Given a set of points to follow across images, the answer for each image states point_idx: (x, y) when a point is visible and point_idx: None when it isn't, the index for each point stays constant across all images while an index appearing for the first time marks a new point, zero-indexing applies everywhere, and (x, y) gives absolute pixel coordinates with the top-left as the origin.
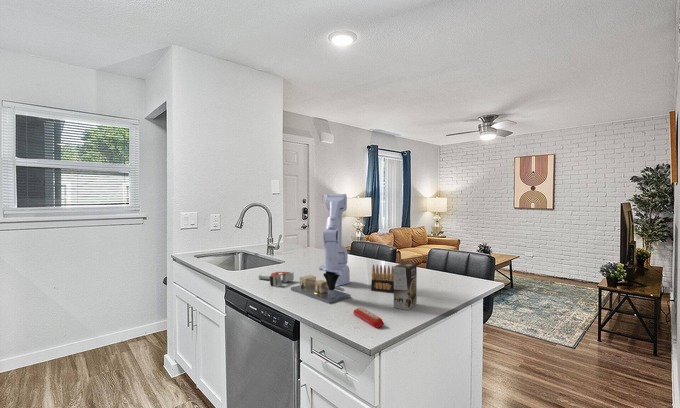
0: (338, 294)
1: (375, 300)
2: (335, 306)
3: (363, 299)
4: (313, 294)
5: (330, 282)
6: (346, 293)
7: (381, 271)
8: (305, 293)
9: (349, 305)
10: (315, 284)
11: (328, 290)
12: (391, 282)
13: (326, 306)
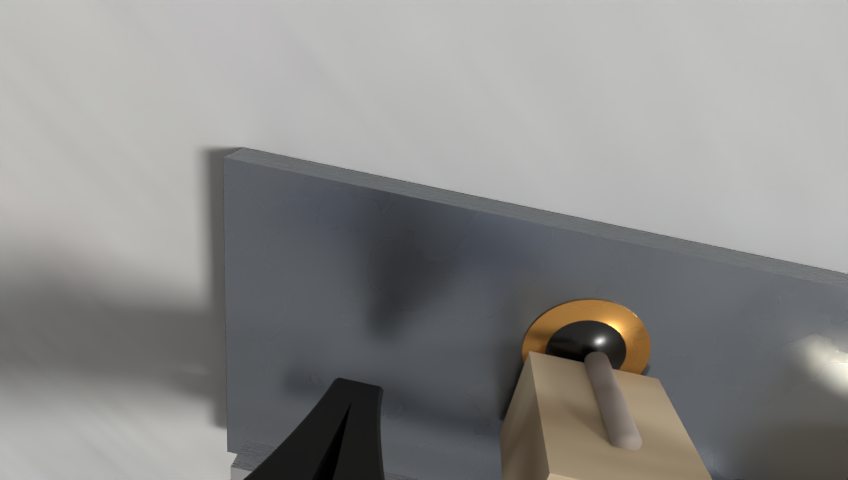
0: None
1: (37, 450)
2: (110, 111)
3: (119, 431)
4: (603, 262)
5: (258, 472)
6: None
7: None
8: (774, 268)
9: (47, 232)
10: (698, 458)
11: None
12: None
13: (183, 35)
